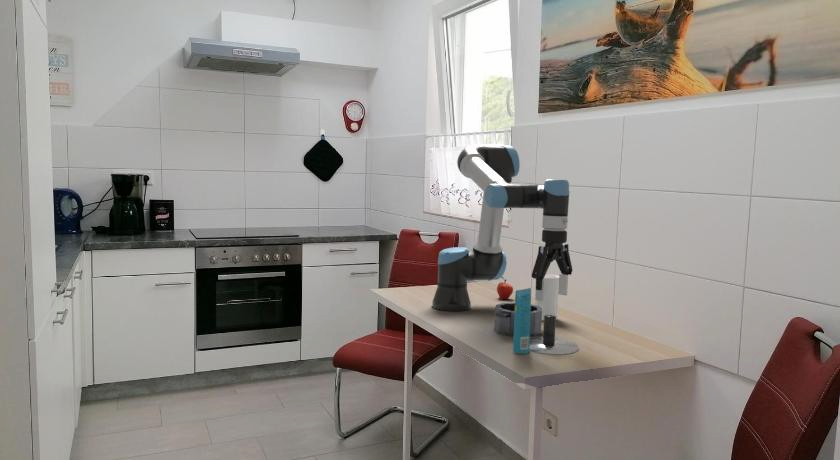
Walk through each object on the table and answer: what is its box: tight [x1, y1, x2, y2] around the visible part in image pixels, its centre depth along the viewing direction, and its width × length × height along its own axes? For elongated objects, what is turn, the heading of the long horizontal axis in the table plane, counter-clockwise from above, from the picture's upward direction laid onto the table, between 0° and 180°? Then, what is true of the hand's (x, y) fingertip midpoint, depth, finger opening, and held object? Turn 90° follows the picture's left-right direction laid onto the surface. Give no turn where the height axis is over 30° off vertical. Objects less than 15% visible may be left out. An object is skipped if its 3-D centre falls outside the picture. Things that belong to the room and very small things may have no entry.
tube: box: [512, 287, 532, 355], centre depth 186 cm, size 7×5×19 cm, turn 140°
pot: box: [493, 302, 543, 337], centre depth 211 cm, size 21×16×8 cm
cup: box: [534, 273, 560, 322], centre depth 229 cm, size 8×8×16 cm
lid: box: [529, 315, 579, 356], centre depth 194 cm, size 18×18×10 cm
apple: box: [496, 276, 514, 300], centre depth 263 cm, size 8×7×10 cm
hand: (551, 297), depth 192 cm, fingers open, 13 cm apart
